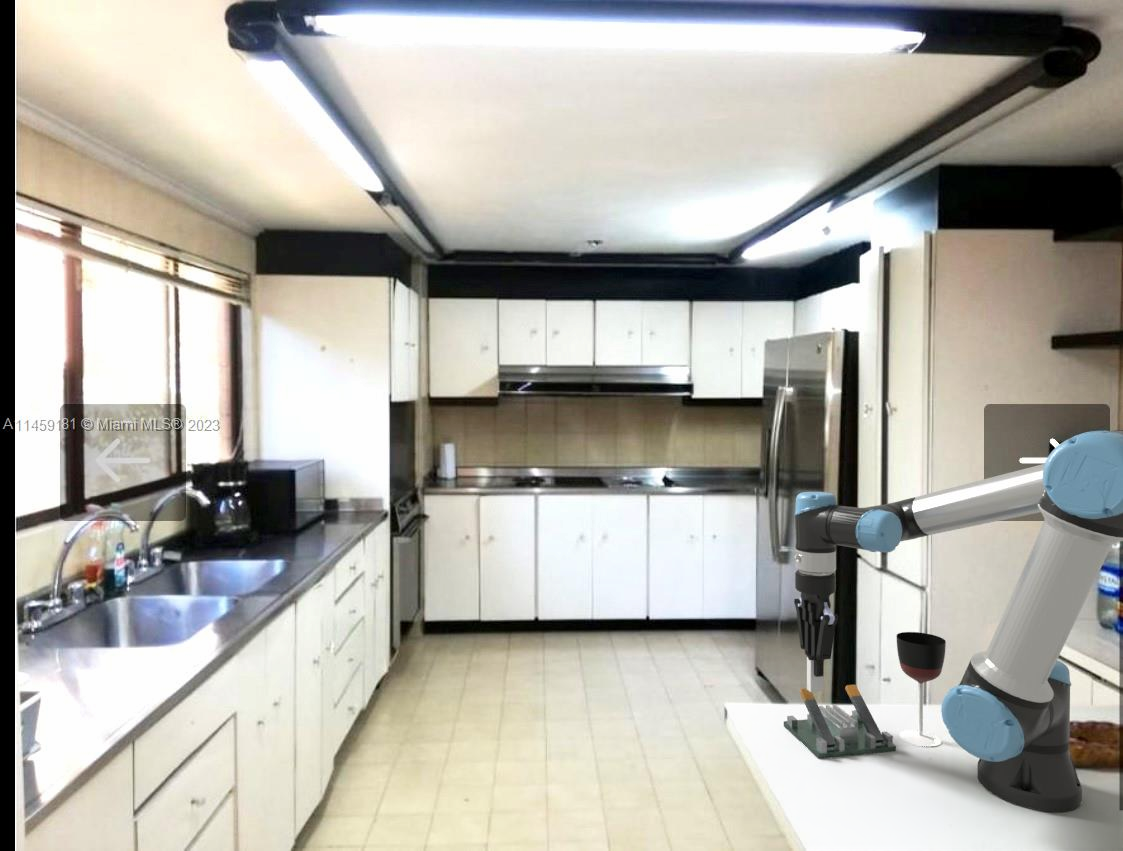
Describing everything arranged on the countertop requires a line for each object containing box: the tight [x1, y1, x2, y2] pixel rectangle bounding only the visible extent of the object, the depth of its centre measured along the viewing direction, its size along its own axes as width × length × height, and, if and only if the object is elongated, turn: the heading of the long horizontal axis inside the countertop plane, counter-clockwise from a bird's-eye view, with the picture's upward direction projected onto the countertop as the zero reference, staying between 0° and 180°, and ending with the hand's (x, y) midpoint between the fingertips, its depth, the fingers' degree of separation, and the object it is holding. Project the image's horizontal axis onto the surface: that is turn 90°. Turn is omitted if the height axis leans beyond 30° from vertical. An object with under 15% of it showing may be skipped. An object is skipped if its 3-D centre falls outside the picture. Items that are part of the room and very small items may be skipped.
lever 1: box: [799, 687, 836, 748], centre depth 141 cm, size 12×2×1 cm
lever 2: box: [844, 684, 884, 743], centre depth 143 cm, size 12×2×1 cm
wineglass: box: [896, 631, 947, 748], centre depth 142 cm, size 8×9×20 cm
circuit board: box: [783, 704, 897, 760], centre depth 143 cm, size 14×16×5 cm
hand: (815, 690), depth 142 cm, fingers closed
